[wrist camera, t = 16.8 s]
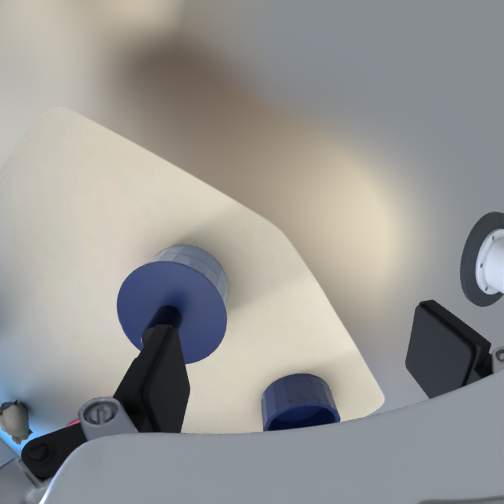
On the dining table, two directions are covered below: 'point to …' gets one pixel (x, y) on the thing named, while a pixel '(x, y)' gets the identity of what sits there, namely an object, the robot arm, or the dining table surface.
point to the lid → (173, 307)
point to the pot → (197, 265)
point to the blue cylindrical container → (298, 403)
